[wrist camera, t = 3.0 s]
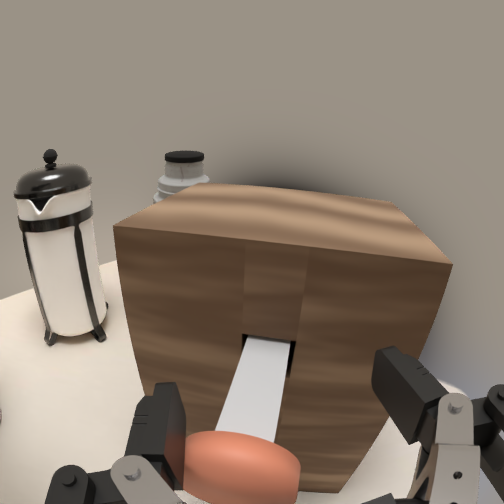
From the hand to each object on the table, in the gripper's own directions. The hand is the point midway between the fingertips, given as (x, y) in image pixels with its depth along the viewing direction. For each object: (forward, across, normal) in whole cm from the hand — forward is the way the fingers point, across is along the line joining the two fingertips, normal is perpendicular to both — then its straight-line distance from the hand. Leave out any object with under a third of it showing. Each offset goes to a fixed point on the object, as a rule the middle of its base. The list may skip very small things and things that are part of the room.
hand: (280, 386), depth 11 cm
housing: (+15, 0, +21) cm, 25 cm away
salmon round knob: (+4, +1, +5) cm, 7 cm away
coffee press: (+37, +30, +14) cm, 49 cm away
